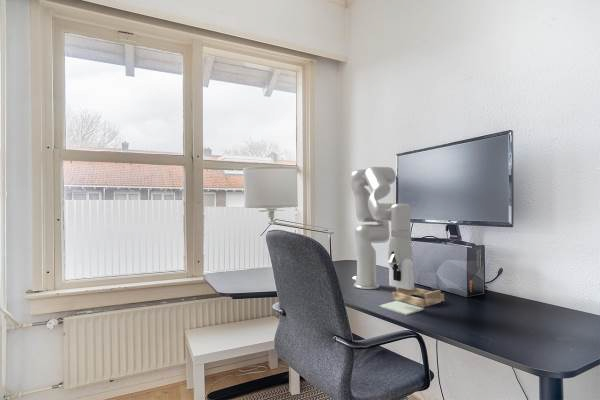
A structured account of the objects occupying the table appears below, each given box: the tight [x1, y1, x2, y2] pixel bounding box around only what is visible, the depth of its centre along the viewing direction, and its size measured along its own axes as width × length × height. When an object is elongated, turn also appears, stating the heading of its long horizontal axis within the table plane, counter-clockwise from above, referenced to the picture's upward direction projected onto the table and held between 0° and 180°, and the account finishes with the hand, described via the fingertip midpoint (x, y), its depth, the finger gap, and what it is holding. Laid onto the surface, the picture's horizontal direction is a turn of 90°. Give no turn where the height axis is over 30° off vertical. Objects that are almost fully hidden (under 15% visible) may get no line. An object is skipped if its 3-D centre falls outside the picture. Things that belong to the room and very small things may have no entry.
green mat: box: [378, 300, 424, 316], centre depth 135 cm, size 13×11×1 cm
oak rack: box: [392, 286, 445, 309], centre depth 147 cm, size 15×15×5 cm
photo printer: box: [388, 258, 415, 290], centre depth 135 cm, size 10×4×12 cm, turn 39°
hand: (401, 279), depth 135 cm, fingers closed on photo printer, 4 cm apart
